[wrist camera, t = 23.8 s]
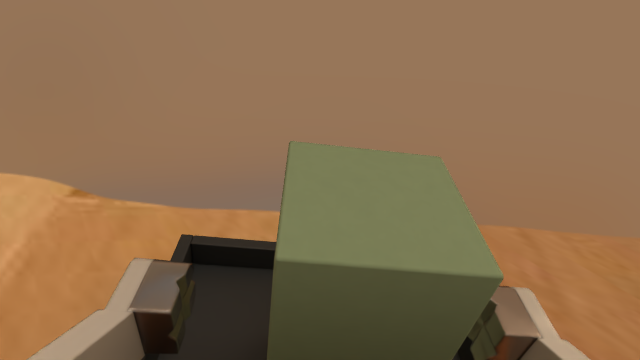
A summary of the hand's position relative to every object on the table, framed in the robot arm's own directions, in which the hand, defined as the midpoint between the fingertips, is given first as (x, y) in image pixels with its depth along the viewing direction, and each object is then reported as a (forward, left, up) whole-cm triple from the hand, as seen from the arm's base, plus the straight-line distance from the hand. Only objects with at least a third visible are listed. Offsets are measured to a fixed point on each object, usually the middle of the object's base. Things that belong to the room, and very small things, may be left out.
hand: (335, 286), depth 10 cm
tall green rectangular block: (+1, 0, -7) cm, 7 cm away
